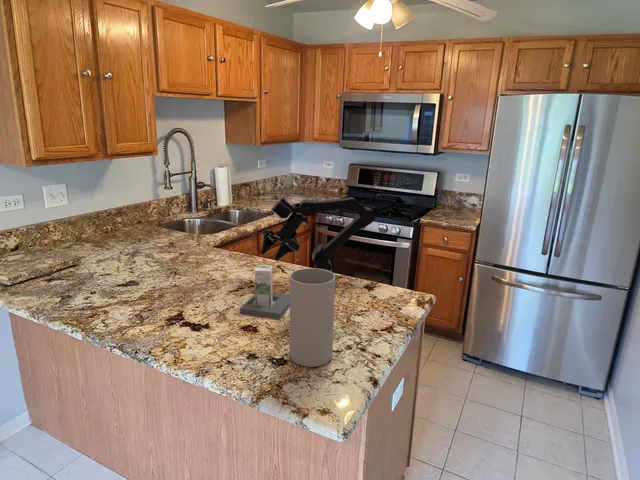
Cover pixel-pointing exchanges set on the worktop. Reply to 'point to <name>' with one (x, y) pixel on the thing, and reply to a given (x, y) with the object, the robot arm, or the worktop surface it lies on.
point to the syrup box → (263, 286)
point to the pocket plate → (275, 311)
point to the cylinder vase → (311, 316)
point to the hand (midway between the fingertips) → (268, 257)
